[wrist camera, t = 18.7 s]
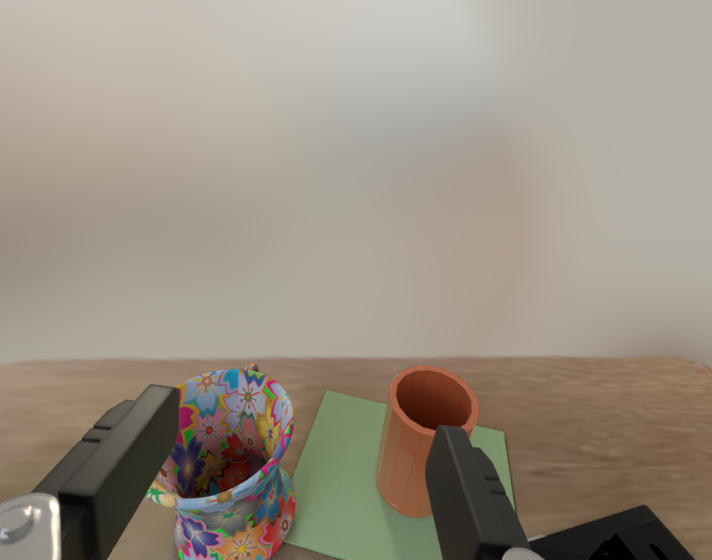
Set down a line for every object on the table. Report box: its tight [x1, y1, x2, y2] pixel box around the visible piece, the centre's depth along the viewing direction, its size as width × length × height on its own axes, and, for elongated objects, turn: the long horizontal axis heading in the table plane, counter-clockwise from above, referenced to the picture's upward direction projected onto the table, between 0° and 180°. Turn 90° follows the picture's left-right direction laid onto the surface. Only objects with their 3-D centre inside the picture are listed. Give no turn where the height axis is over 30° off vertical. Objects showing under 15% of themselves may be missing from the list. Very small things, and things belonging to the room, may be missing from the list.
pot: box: [375, 366, 479, 518], centre depth 28 cm, size 6×6×10 cm
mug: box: [145, 363, 296, 560], centre depth 25 cm, size 12×9×11 cm
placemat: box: [283, 390, 515, 560], centre depth 30 cm, size 18×14×1 cm
